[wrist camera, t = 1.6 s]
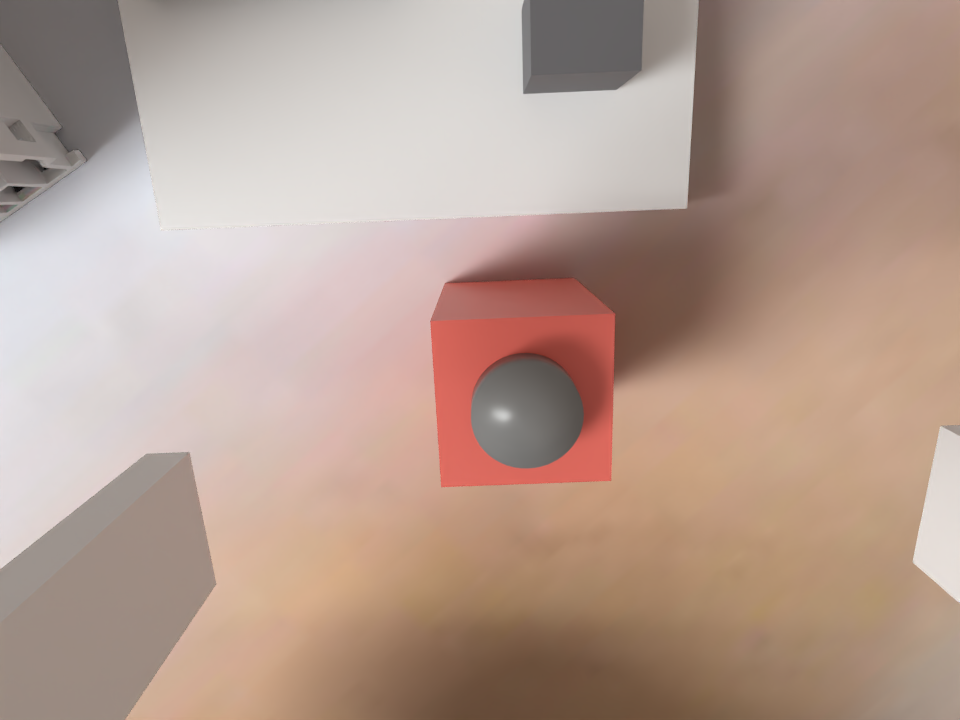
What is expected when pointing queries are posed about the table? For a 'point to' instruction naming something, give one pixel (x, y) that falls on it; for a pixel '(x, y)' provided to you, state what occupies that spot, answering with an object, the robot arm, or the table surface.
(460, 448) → the cap
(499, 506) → the table surface
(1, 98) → the circuit breaker
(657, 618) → the table surface
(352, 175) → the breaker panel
